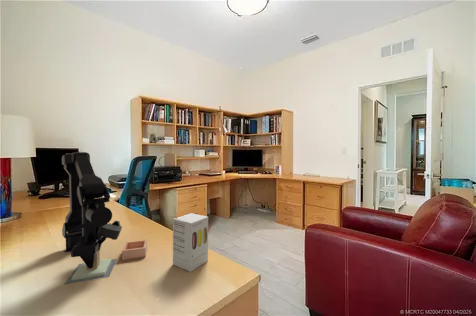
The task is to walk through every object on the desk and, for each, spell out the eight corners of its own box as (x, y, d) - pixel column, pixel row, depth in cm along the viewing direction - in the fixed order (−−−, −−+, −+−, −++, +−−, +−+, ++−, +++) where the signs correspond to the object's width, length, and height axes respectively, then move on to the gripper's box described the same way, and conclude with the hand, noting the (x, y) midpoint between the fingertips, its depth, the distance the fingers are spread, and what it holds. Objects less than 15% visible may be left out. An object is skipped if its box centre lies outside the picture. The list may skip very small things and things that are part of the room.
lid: (71, 280, 66) (71, 261, 66) (82, 265, 75) (82, 248, 74) (104, 275, 69) (104, 257, 69) (111, 261, 78) (111, 245, 77)
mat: (63, 285, 64) (63, 284, 64) (79, 265, 76) (79, 264, 76) (109, 278, 68) (109, 276, 68) (117, 259, 79) (117, 258, 79)
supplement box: (190, 272, 71) (190, 223, 71) (171, 264, 76) (171, 218, 76) (208, 260, 80) (208, 216, 79) (190, 254, 84) (190, 212, 84)
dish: (122, 261, 78) (121, 251, 78) (125, 251, 86) (125, 242, 86) (145, 258, 81) (145, 247, 81) (147, 249, 88) (147, 239, 88)
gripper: (113, 225, 65) (113, 275, 66) (124, 209, 83) (124, 248, 83) (69, 229, 61) (70, 282, 62) (91, 212, 79) (91, 253, 80)
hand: (93, 264), depth 72 cm, fingers open, 5 cm apart
